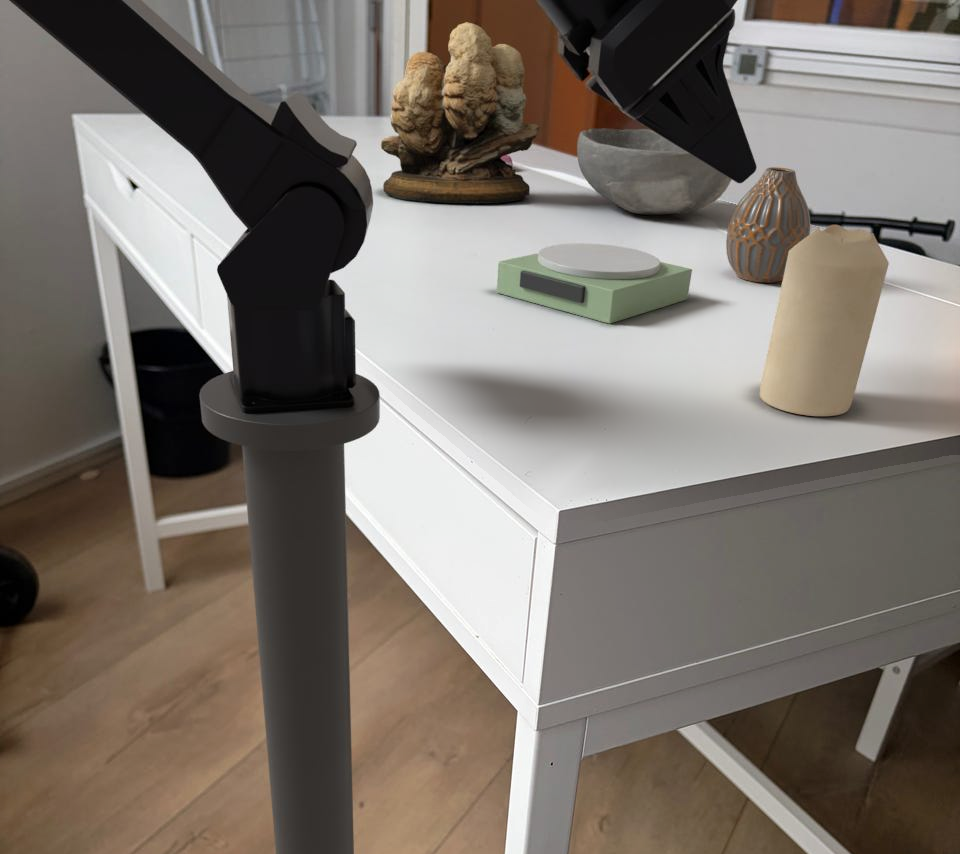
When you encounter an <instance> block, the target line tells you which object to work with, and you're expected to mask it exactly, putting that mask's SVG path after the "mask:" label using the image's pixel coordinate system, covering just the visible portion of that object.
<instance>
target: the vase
mask: <svg viewBox="0 0 960 854" xmlns="http://www.w3.org/2000/svg"><path fill="white" fill-rule="evenodd" d="M726 231H727V233H726V241H725V248H726V249H725V250H726V256H727V261H728V263H729V267H731V269H732V271H733V272H734V274H735V276H736V277H738V278H740V279H742V280H745V281H749V282H755V283H764V284H774V283H779V282H782V281H783V277H784V272H785V267H786V262H787V258H788V253H789V250H790V249H792V248H793V247H794V246H795V245H796V244H798V243H799V242H800V241H802V240H803V239H804V238H806V237H807V236H808V235H810V234H811V214H810V210H809V206H808V203H807V201H806V199H805V196H804V195H803V192H802V190H801V188H800V185H799V183H798V180H797V173H796V170H794V169H792V168H786V167H778V166H777V167H773V166H772V167H767V168H766V169H764V172H763V174H762V175H761V176H760V178H759V180H758V181H757V182H756V183H755V184H754V185H753V186H752V187H751V188H750V189H749V190H748V191H747V192H746V194H744V196H743V197H742V198H741V199H740V200H739V202H738V203H737V204H736V207H735V209H734V210H733V212H732V215H731V217H730V220H729V223H728V227H727V230H726Z"/></svg>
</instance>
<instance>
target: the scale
mask: <svg viewBox="0 0 960 854" xmlns="http://www.w3.org/2000/svg"><path fill="white" fill-rule="evenodd" d="M497 267H498V268H497V278H496V279H497V280H496V282H497V283H496V293H497V294H499V295H504V296H508V297H511V298H515V299H518V300H522V301H525V302H529V303H532V304H537V305H541V306H544V307H547V308H551V309H555V310H558V311H562V312H565V313H570V314H573V315H577V316H580V317H583V318H587V319H591V320H594V321H599V322H602V323H605V324H609V325H610V324H613V323H616V322H619V321H622V320H626V319H629V318H632V317H635V316H638V315H639V316H640V315H643V314H645V313H649V312H652V311H655V310H658V309H661V308H664V307H668V306H671V305H674V304H677V303H681V302H684V301H687V300H688V299H689V298H688V297H689V292H690V287H691V286H690V285H691V281H692V273H693V269H692V268H689V267H685V266H681V265H676V264H671V263H667V262H664V261H661V260H660V259H659V258H658V257H656V256H655V255H653V254H651V253H648V252H646V251H642V250H639V249H635V248H631V247H625V246H618V245H612V244H600V243H584V242H583V243H580V242H579V243H561V244H554V245H550V246H549V245H548V246H545V247H543V248H542V249H540V250H539V251H538V252H537V253H533V254H528V255H524V256H518V257H513V258H509V259H505V260H500V261H498V263H497Z"/></svg>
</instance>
